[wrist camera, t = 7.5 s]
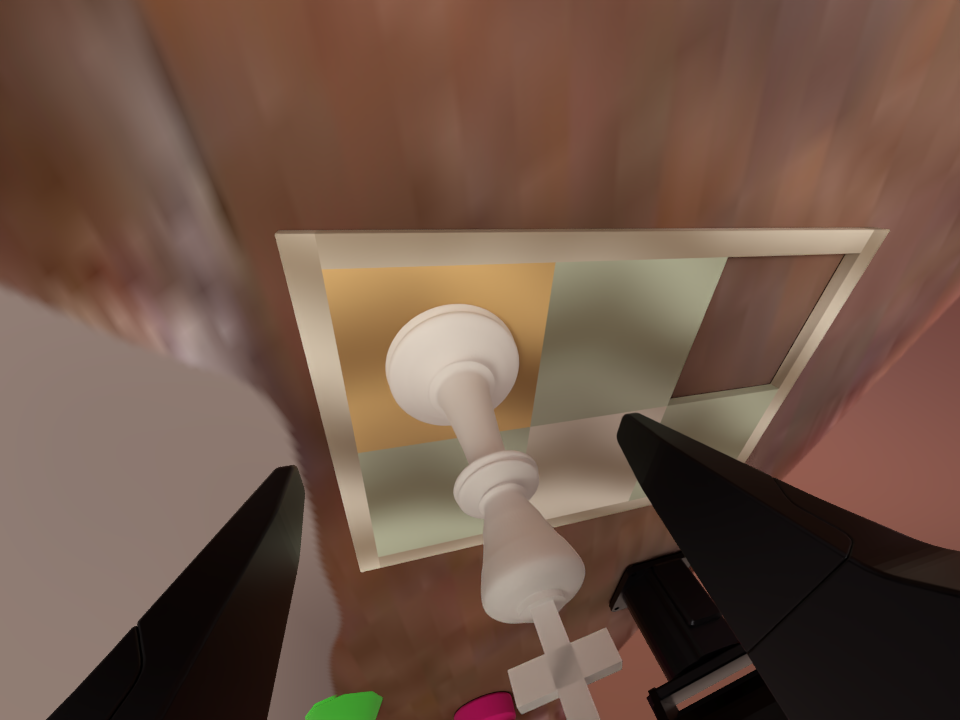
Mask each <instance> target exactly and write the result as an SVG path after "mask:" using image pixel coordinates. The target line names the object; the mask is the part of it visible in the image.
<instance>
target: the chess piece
mask: <svg viewBox="0 0 960 720" xmlns="http://www.w3.org/2000/svg"><path fill="white" fill-rule="evenodd" d="M385 369H386V377H387V381H388V384H389V387H390V390H391V393H392V395H393V397H394V399H395V401H396V402H397V404H398V405H399V406H400V407H401V408H402V409H403V410H404V411H405V412H406V413H407V414H409V415H410V416H412V417H413V418H415V419H417V420H419V421H422V422H425V423H428V424H433V425H440V426H452V428H453V430H454V432H455V434H456V436H457V438H458V441H459V443H460V445H461V447H462V449H463V451H464V454H465V456H466V459H467V461H468V463H469V465H468V466H467V467H466V468H465V469H464V470H463V471H462V472H461V473H460V475H459V476H458V477H457V479H456V482H455V484H454V489H453V494H454V498H455V500H456V502H457V504H458V505H459V507H460V508H461V510H462V511H463V512H464V513H466V514H467V515H469V516H471V517H474V518H479V519H484V527H483V546H484V552H483V567H482V574H481V599H482V605H483V608H484V610H485V611H486V613H487V614H488V615H489V616H490V617H492V618H493V619H495V620H497V621H500V622H504V623H524V622H525V623H534V624H535V627H536V630H537V633H538V636H539V639H540V641H541V644H542V647H543V650H544V653H545V654H544V655H542V656H539V657H537V658H535V659H532V660H530V661H528V662H525V663H523V664H521V665H519V666H516V667H514V668H512V669H509V670H508V674H509V678H510V682H511V686H512V690H513V694H514V698H515V702H516V706H517V709H518V710H519V711H520V713H521V714H524V713H526V712H528V711H531V710H533V709H535V708H537V707H540V706H542V705H544V704H546V703H548V702H551V701H553V700H555V699H557V698H560V701H561V704H562V707H563V710H564V713H565V715H566V718H567V720H600V717H599V714H598V712H597V709H596V707H595V705H594V702H593V700H592V697H591V695H590V692H589V689H588V687H587V685H588V684H591V683H593V682H595V681H597V680H599V679H602V678H604V677H606V676H608V675H611V674H613V673H615V672H617V671H619V670H621V669H622V659H621V657H620V655H619V653H618V651H617V649H616V647H615V645H614V642H613V640H612V638H611V636H610V634H609V632H608V630H607V628H603V629H601V630H599V631H597V632H594V633H592V634H590V635H587V636H585V637H583V638H581V639H578V640H576V641H574V642H571V643H570V641H569V639H568V636H567V634H566V631H565V629H564V626H563V624H562V621H561V619H560V616H559V614H558V611H560V610H561V609H562V608H563V607H564V605H565V604H566V603H568V602H569V601H570V600H571V599H572V598H573V597H574V596H575V595H576V594H577V592H578V591H579V589H580V587H581V585H582V583H583V581H584V577H585V566H584V563H583V561H582V559H581V558H580V556H579V555H578V553H577V552H576V551H575V550H574V549H573V548H572V546H571V545H570V544H569V543H568V542H567V541H566V540H565V539H564V538H563V537H562V536H561V535H559V534H558V533H557V532H556V531H555V530H554V529H553V527H552V526H551V525H550V524H549V523H548V522H547V521H546V520H545V518H544V517H543V515H542V514H541V513H540V512H539V511H538V510H537V509H536V508H535V507H534V506H533V505H532V504H531V503H530V502H529V500H530V499H531V498H532V496H533V495H534V494H535V492H536V490H537V488H538V485H539V475H538V467H537V464H536V462H535V461H534V460H533V458H531V457H530V456H529V455H527V454H525V453H523V452H519V451H514V450H505V448H504V444H503V441H502V438H501V435H500V431H499V428H498V424H497V420H496V416H495V412H494V409H495V408H496V407H497V406H498V405H499V404H500V403H501V402H502V401H503V400H504V399H505V398H506V397H507V395H508V394H509V393H510V391H511V389H512V387H513V386H514V383H515V381H516V378H517V375H518V370H519V354H518V350H517V347H516V344H515V342H514V339H513V336H512V334H511V332H510V330H509V329H508V327H507V326H506V324H505V323H504V322H503V321H502V320H501V319H500V318H499V317H497V316H496V315H495V314H493V313H491V312H490V311H488V310H486V309H483V308H481V307H477V306H474V305H468V304H448V305H442V306H438V307H435V308H432V309H429V310H427V311H425V312H423V313H421V314H419V315H417V316H416V317H414V318H413V319H411V320H410V321H409V322H408V323H406V324H405V325H404V326H403V327H402V328H401V330H400V331H399V332H398V333H397V335H396V336H395V338H394V339H393V341H392V343H391V345H390V347H389V350H388V353H387V357H386V365H385Z"/></svg>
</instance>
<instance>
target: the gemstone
mask: <svg viewBox="0 0 960 720" xmlns="http://www.w3.org/2000/svg"><path fill="white" fill-rule="evenodd" d="M382 699H383V698H382V697H381V696H379V695H377V694H376V693H374V692H372V691H370V692H361V693H352V694H344V695H342V696H339V697H337V698H335V695H334V696H331V697H329V698H327V699H324V700H322V701H320V702H318V703H315V704H314V706H313V707H312V708H311V710H310V711H309V712H308V714H307V715H306V716H305V719H306V720H376V717H377V714H378V711H379V708H380V705H381V702H382Z"/></svg>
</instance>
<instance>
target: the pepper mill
mask: <svg viewBox="0 0 960 720" xmlns="http://www.w3.org/2000/svg"><path fill="white" fill-rule="evenodd" d="M515 718H516V713H515V709H514V705H513V701H512V697H511V695H510V694H509V693H507V692H496V693H491V694H487V695H484V696H481V697H479V698H477V699H474V700H472V701H470V702H469V703H467V704H465V705H464V706H462V707H461V708H460V709H459V710H458V711H457V712H456V713H455V715H454V720H515Z"/></svg>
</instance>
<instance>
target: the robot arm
mask: <svg viewBox="0 0 960 720" xmlns="http://www.w3.org/2000/svg"><path fill="white" fill-rule="evenodd" d="M617 441H618V444H619V446H620V448H621V450H622V452H623V454H624V455H625V457H626V459H627V461H628V463H629V465H630V467H631V469H632V471H633V473H634V475H635V477H636V479H637V481H638V483H639V485H640V486H641V488H642V490H643V491H644V493H645V495H646V496H647V498H648V499H649V501H650V503H651V504H652V506H653V507H654V509H655V510H656V512H657V514H658V515H659V517H660V518H661V520H662V521H663V523H664V524H665V526H666V528H667V529H668V531H669V532H670V534H671V535H672V537H673V539H674V540H675V542H676V543H677V545H678V546H679V548H680V550H681V551H682V553H679V554H676V555H672V556H668V557H665V558H661V559H658V560H654V561H650V562H647V563H643V564H640V565H636V566H633V567H630V568H628V569H627V570H626V571H625V573H624V576H623V578H622V580H621V582H620V584H619V586H618V588H617V590H616V592H615V594H614V596H613V598H612V601H611V603H610V605H609V607H610V609H611V611H612V612H615V611H618V610H621V609H625V608H628V609H629V611H630V613H631V615H632V617H633V618H634V620H635V622H636V624H637V626H638V627H639V629H640V631H641V633H642V635H643V636H644V638H645V640H646V642H647V644H648V645H649V647H650V649H651V651H652V653H653V655H654V656H655V658H656V660H657V662H658V664H659V665H660V667H661V669H662V671H663V673H664V674H665V676H666V678H667V680H668V682H667V683H665V684H664V685H662V686H660V687H658V688H655V687H654V688H652V689H651V690H649V691H648V692H649V696H648V697H647V700H648V702H649V704H650V706H651V708H652V710H653V712H654V714H655V716H656V718H657V720H960V551H955V550H950V549H946V548H942V547H938V546H934V545H931V544H928V543H924V542H922V541H919V540H916V539H913V538H911V537H909V536H906V535H904V534H902V533H899V532H897V531H894V530H892V529H890V528H887V527H885V526H883V525H880V524H878V523H876V522H873V521H871V520H868V519H866V518H864V517H861V516H859V515H857V514H854V513H852V512H850V511H847V510H845V509H842V508H840V507H838V506H836V505H833V504H831V503H829V502H826V501H824V500H822V499H819V498H817V497H815V496H813V495H811V494H808V493H806V492H804V491H802V490H800V489H798V488H795V487H793V486H791V485H789V484H787V483H785V482H783V481H781V480H779V479H777V478H772V476H770V475H768V474H766V473H764V472H762V471H760V470H757V469H755V468H753V467H751V466H749V465H747V464H745V463H743V462H741V461H739V460H736V459H734V458H732V457H730V456H728V455H726V454H724V453H722V452H720V451H718V450H715V449H713V448H711V447H709V446H707V445H705V444H703V443H701V442H699V441H697V440H694V439H692V438H690V437H688V436H686V435H684V434H682V433H680V432H678V431H676V430H673V429H671V428H669V427H667V426H665V425H663V424H661V423H659V422H657V421H655V420H653V419H650V418H648V417H646V416H644V415H642V414H640V413H628V414H625V415H624V416H623V417H622V419H621V422H620V425H619V428H618V431H617ZM304 500H305V490H304V486H303V483H302V480H301V477H300V474H299V471H298V468H297V467H296V466H295V465H290V466H284V467H278V468H276V469H275V470H274V471H273V472H272V473H271V474H270V475H269V476H268V478H267V479H266V480H265V481H264V482H263V483H262V484H261V485H260V486H259V488H258V489H257V490H256V491H255V492H254V493H253V494H252V495H251V496H250V498H249V499H248V500H247V501H246V502H245V503H244V504H243V505H242V506H241V508H240V509H239V510H238V511H237V512H236V513H235V514H234V515H233V516H232V518H231V519H230V520H229V521H228V522H227V523H226V524H225V525H224V527H223V528H222V529H221V530H220V531H219V532H218V533H217V534H216V535H215V536H214V538H213V539H212V540H211V541H210V542H209V543H208V544H207V545H206V547H205V548H204V549H203V550H202V551H201V552H200V553H199V554H198V555H197V556H196V558H195V559H194V560H193V561H192V562H191V563H190V564H189V565H188V566H187V568H186V569H185V570H184V571H183V572H182V573H181V574H180V575H179V576H178V578H177V579H176V580H175V581H174V582H173V583H172V584H171V585H170V586H169V588H168V589H167V590H166V591H165V592H164V593H163V594H162V595H161V596H160V598H159V599H158V600H157V601H156V602H155V603H154V604H153V605H152V606H151V608H150V609H149V610H148V611H147V612H146V613H145V614H144V615H143V616H142V618H141V619H140V620H139V621H138V624H137V626H134V627H133V628H131V630H130V631H129V632H128V633H127V634H126V635H125V636H124V637H123V638H122V640H121V641H120V642H119V643H118V644H117V645H116V646H115V648H114V649H113V650H112V651H111V652H110V653H109V654H108V655H107V656H106V657H105V658H104V659H103V660H102V661H101V663H100V664H99V665H98V666H97V667H96V668H95V669H94V670H93V671H92V672H91V673H90V674H89V676H88V677H87V678H86V679H85V680H84V681H83V682H82V683H81V684H80V685H79V686H78V687H77V689H76V690H75V691H74V692H73V693H72V694H71V695H70V696H69V697H68V698H67V699H66V700H65V701H64V702H63V703H62V704H61V705H60V706H59V707H58V708H57V709H56V710H55V711H54V712H53V713H52V714H51V715H50V716H49V717H48V718H47V719H46V720H267V717H268V712H269V707H270V702H271V697H272V692H273V687H274V682H275V678H276V672H277V668H278V663H279V658H280V652H281V648H282V643H283V638H284V633H285V629H286V624H287V618H288V614H289V609H290V604H291V599H292V594H293V589H294V584H295V580H296V575H297V569H298V563H299V556H300V546H301V535H302V523H303V512H304ZM690 565H691V567H692V568H693V570H694V572H695V573H696V575H697V576H698V578H699V579H700V581H701V582H702V584H703V586H704V587H705V589H706V590H707V592H708V593H707V592H706V591H705V589H704V588H703V587H702V586H701V584H700V583H699V581H698V580H697V579H696V577H695V576H694V575H693V573H692V572H691V571H690V569H689V567H690ZM708 594H709V595H710V596H709V595H708ZM711 598H712V599H711ZM723 617H724V618H723ZM752 663H753V665H754V666H755V668H756V670H754V671H752V672H750V673H749V674H747V675H745V676H743V677H741V678H739V679H737V680H736V681H734V682H732V683H730V684H729V685H726V686H725V687H723V688H721V689H719V690H717V691H716V692H713V693H712V694H710V695H708V696H706V697H704V698H702V699H700V700H699V701H697V702H695V703H693V704H691V705H689V706H688V707H686V708H684V709H682V710H680V711H679V710H678V708H677V706H676V705H677V704H678V703H680V702H682V701H684V700H686V699H688V698H690V697H691V696H693V695H695V694H697V693H699V692H701V691H702V690H704V689H706V688H708V687H710V686H712V685H714V684H715V683H717V682H719V681H721V680H723V679H725V678H726V677H728V676H730V675H732V674H734V673H735V672H737V671H739V670H741V669H743V668H745V667H747V666H748V665H750V664H752Z"/></svg>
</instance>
